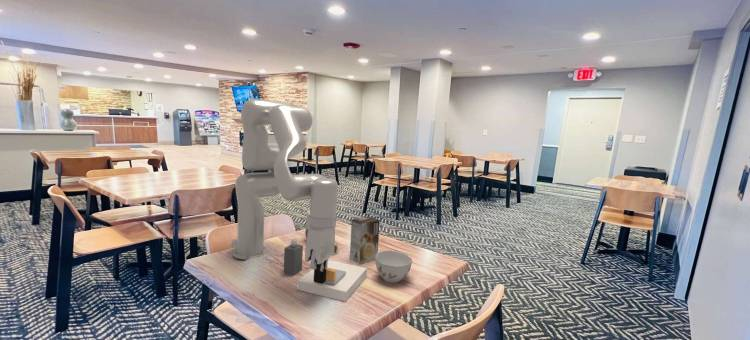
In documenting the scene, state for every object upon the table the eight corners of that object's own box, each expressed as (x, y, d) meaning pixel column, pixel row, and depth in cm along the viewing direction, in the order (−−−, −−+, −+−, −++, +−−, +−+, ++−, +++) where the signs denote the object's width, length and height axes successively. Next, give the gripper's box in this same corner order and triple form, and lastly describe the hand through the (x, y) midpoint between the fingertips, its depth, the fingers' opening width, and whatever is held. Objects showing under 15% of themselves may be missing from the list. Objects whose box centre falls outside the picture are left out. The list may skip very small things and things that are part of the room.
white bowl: (396, 292, 103) (398, 268, 102) (366, 279, 110) (367, 256, 109) (421, 277, 114) (423, 255, 113) (392, 266, 122) (393, 245, 121)
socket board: (297, 289, 100) (297, 280, 100) (324, 267, 117) (325, 259, 117) (345, 301, 95) (346, 291, 95) (366, 276, 112) (367, 268, 112)
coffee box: (367, 254, 132) (369, 215, 130) (377, 260, 127) (380, 220, 125) (348, 259, 126) (351, 218, 124) (359, 265, 121) (361, 223, 119)
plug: (283, 273, 110) (284, 241, 109) (291, 267, 115) (293, 236, 114) (293, 275, 109) (295, 243, 108) (301, 270, 114) (303, 238, 112)
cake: (310, 249, 134) (310, 236, 133) (332, 245, 140) (332, 233, 139) (321, 258, 126) (321, 244, 125) (343, 253, 132) (344, 240, 131)
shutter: (313, 280, 100) (314, 268, 100) (326, 269, 108) (327, 258, 108) (334, 284, 98) (335, 272, 97) (345, 273, 106) (346, 262, 105)
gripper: (323, 213, 102) (320, 269, 104) (297, 226, 88) (294, 290, 90) (345, 217, 100) (341, 274, 102) (322, 230, 85) (318, 296, 88)
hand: (319, 281), depth 96 cm, fingers closed
